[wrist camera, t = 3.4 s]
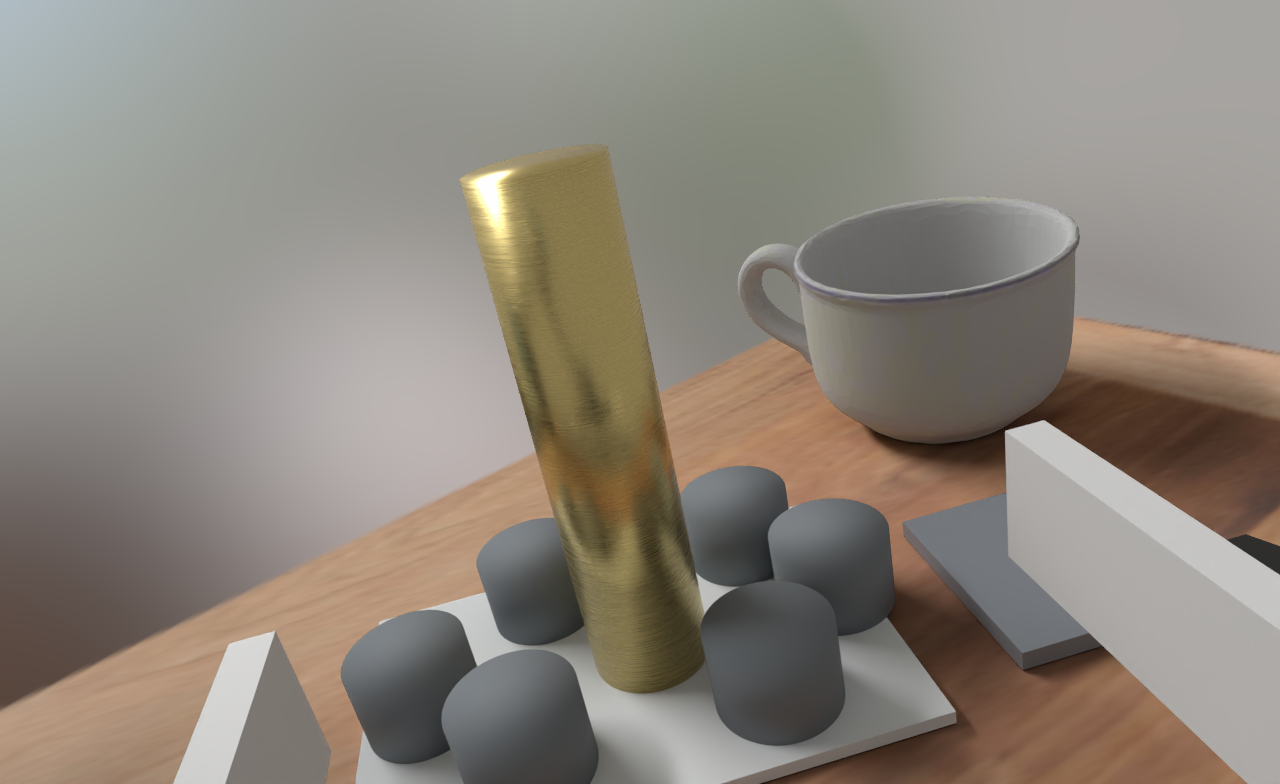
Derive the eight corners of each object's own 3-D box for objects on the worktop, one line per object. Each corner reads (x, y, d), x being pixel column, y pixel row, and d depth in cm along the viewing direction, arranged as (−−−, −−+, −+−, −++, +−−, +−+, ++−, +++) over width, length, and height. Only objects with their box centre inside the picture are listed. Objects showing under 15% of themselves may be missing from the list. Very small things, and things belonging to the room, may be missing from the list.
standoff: (604, 707, 25) (459, 191, 19) (588, 630, 28) (459, 169, 22) (724, 672, 25) (619, 154, 19) (694, 599, 28) (596, 138, 22)
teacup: (1114, 377, 37) (1120, 193, 34) (1014, 503, 30) (1009, 289, 27) (832, 342, 47) (816, 196, 43) (709, 432, 40) (678, 267, 37)
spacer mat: (343, 912, 21) (301, 830, 20) (382, 630, 31) (356, 564, 30) (985, 714, 22) (981, 626, 21) (824, 506, 32) (816, 439, 31)
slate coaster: (1022, 670, 24) (1022, 652, 23) (903, 536, 30) (902, 522, 30) (1252, 599, 24) (1254, 582, 24) (1088, 483, 31) (1088, 469, 30)
